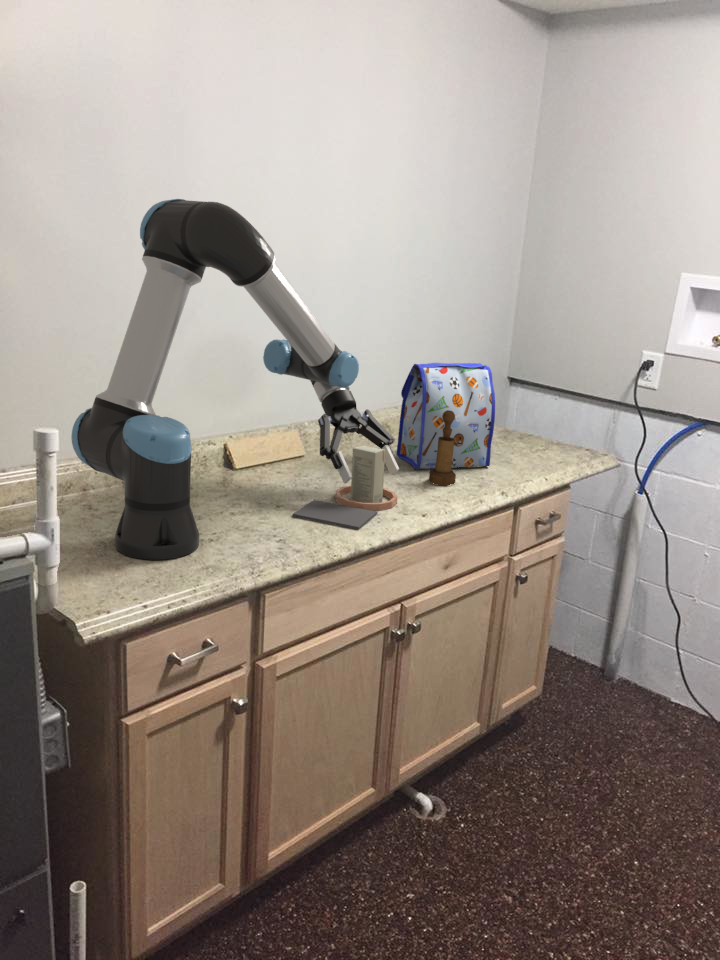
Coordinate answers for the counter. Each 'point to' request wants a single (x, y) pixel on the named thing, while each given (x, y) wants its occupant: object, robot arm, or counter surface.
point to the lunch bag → (437, 393)
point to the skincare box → (367, 474)
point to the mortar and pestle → (444, 454)
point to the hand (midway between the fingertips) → (372, 476)
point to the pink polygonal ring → (366, 506)
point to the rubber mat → (335, 514)
